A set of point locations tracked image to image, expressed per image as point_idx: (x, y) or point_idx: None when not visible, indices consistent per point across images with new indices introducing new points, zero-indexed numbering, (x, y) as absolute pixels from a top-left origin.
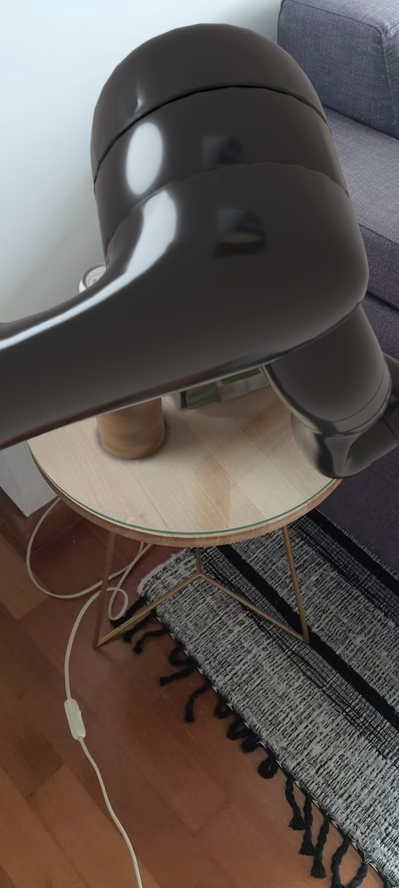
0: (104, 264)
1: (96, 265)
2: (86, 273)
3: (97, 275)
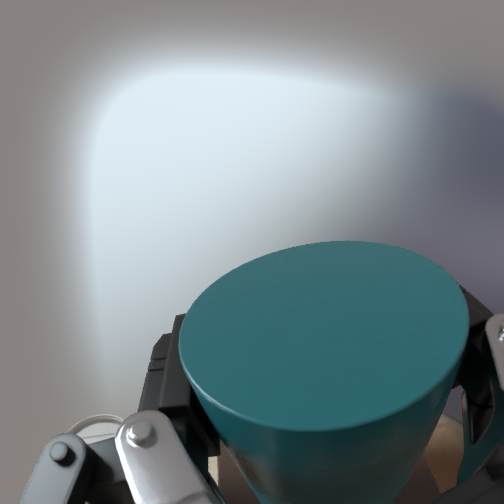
0: (114, 419)
1: (101, 417)
2: (82, 427)
3: (90, 439)
